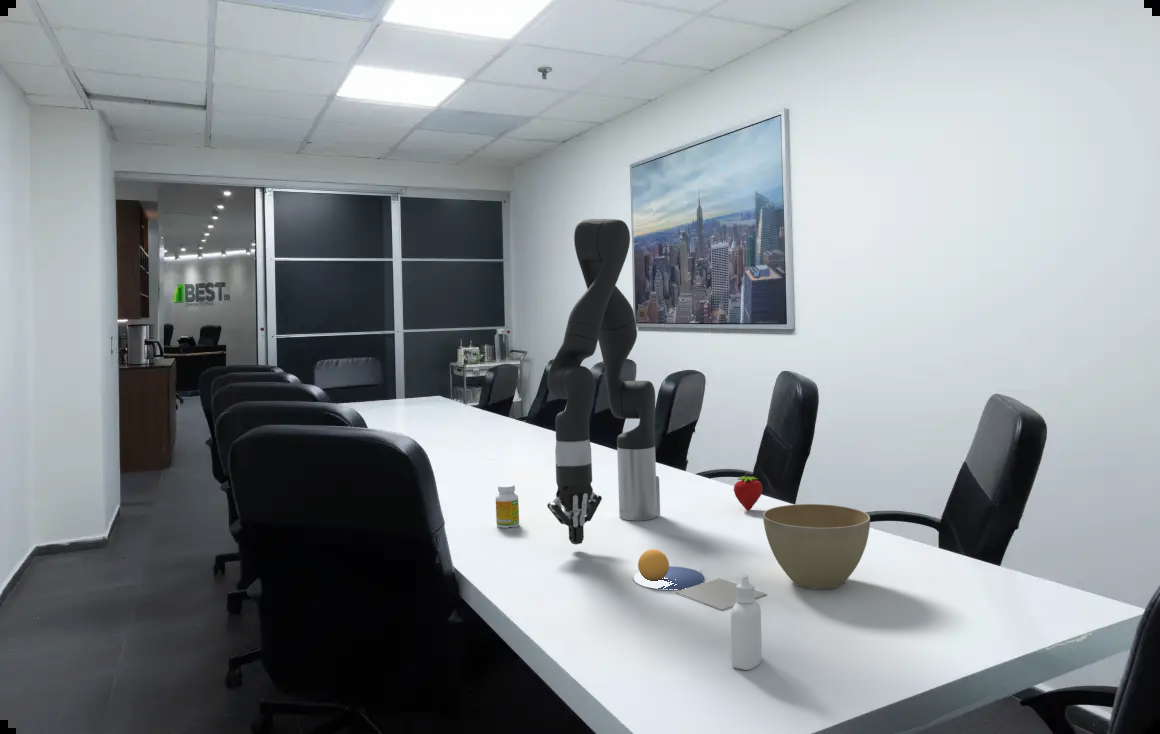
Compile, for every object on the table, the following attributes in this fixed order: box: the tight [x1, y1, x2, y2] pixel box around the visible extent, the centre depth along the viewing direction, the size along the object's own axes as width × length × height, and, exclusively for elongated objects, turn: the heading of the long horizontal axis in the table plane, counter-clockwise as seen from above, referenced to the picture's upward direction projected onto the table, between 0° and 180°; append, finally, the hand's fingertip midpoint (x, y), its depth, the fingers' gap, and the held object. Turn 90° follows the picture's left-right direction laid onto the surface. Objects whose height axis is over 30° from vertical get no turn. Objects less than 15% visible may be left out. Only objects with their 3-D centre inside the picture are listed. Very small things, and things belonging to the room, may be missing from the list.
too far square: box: [675, 577, 768, 611], centre depth 131 cm, size 11×11×1 cm
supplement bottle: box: [495, 483, 520, 529], centre depth 183 cm, size 5×5×10 cm
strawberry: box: [733, 472, 764, 511], centre depth 190 cm, size 6×8×10 cm
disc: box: [658, 565, 705, 591], centre depth 141 cm, size 13×13×1 cm
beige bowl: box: [762, 503, 871, 590], centre depth 136 cm, size 18×18×12 cm
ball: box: [637, 548, 670, 581], centre depth 140 cm, size 6×6×6 cm
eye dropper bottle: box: [730, 574, 763, 671], centre depth 104 cm, size 4×6×12 cm
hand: (576, 543), depth 160 cm, fingers closed
